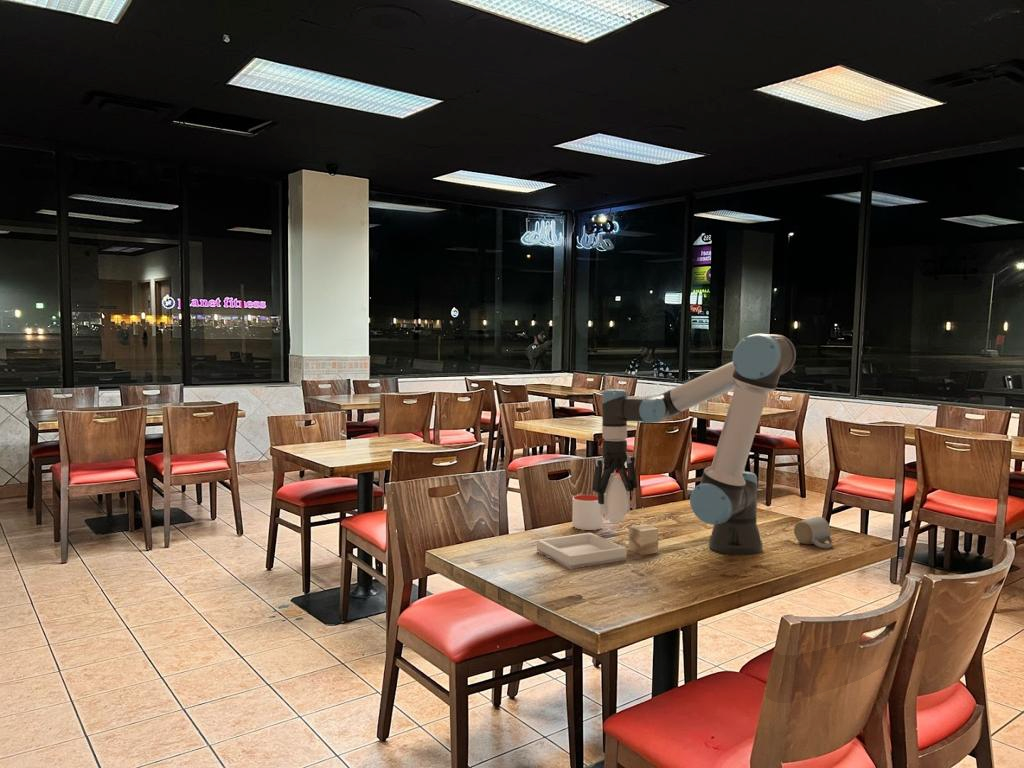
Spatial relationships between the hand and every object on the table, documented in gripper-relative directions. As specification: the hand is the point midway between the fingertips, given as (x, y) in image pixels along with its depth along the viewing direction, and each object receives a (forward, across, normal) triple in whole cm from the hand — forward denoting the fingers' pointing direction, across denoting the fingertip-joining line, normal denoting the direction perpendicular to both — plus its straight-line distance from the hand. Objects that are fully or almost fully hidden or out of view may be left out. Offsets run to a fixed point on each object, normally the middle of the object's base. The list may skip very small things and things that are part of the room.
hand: (615, 512), depth 227 cm
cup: (+8, 0, -16) cm, 18 cm away
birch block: (+8, 0, +14) cm, 17 cm away
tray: (+8, +19, +11) cm, 23 cm away
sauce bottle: (+3, 0, 0) cm, 3 cm away
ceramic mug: (+9, -51, +32) cm, 61 cm away
